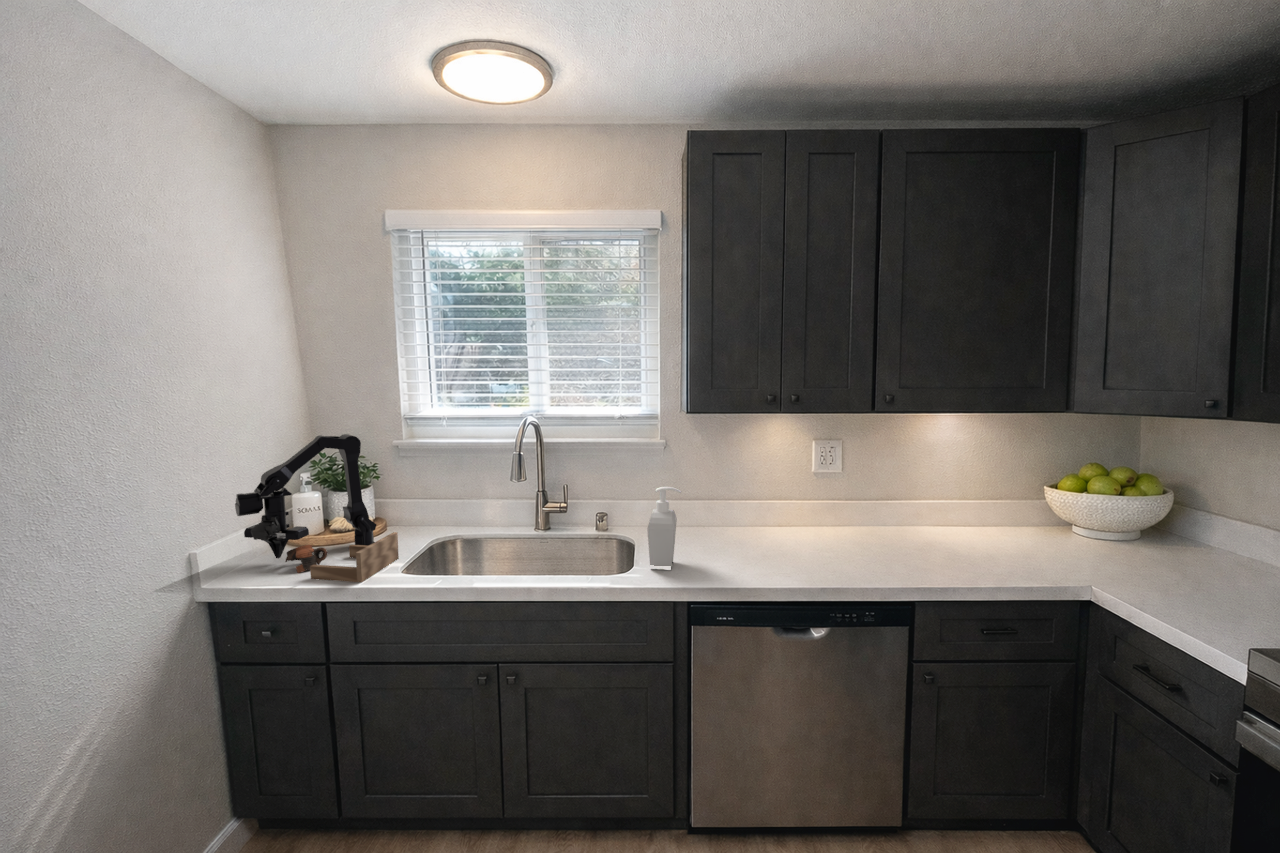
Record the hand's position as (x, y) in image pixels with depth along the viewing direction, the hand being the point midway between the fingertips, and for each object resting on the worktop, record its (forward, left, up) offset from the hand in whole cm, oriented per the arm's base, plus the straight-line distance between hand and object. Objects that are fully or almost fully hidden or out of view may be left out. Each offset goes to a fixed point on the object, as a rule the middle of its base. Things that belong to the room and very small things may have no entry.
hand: (278, 557), depth 199 cm
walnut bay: (0, +26, -2) cm, 26 cm away
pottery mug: (+1, +11, -2) cm, 11 cm away
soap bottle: (-17, +123, -2) cm, 124 cm away
